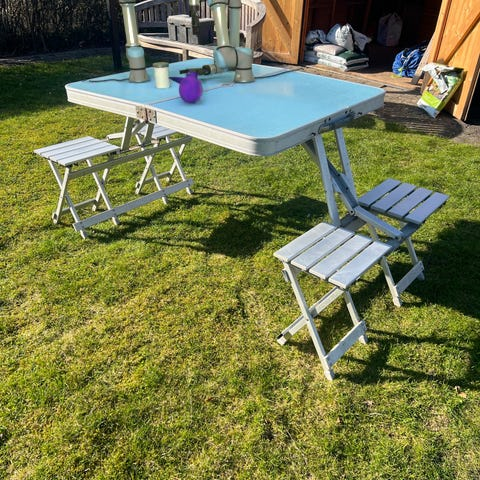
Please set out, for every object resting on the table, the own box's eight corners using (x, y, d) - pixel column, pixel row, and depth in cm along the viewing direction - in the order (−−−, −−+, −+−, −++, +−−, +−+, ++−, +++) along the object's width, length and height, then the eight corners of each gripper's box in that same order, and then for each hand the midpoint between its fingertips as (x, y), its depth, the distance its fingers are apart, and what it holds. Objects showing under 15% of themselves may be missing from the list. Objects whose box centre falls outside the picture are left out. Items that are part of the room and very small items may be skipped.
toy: (192, 94, 296) (203, 108, 275) (166, 89, 289) (175, 104, 268) (197, 69, 288) (208, 82, 267) (170, 64, 281) (180, 77, 260)
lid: (166, 64, 319) (165, 61, 318) (171, 66, 311) (170, 64, 310) (151, 66, 315) (150, 63, 314) (155, 68, 307) (155, 65, 306)
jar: (167, 84, 326) (165, 62, 318) (171, 87, 318) (169, 64, 310) (154, 86, 322) (151, 63, 314) (158, 88, 314) (155, 66, 307)
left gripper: (203, 5, 328) (204, 37, 339) (195, 4, 349) (197, 34, 360) (192, 6, 327) (194, 37, 337) (186, 4, 347) (188, 34, 358)
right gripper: (218, 77, 332) (194, 81, 321) (199, 72, 349) (176, 76, 338) (217, 66, 329) (193, 70, 317) (198, 62, 346) (175, 66, 334)
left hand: (196, 35), depth 349 cm, fingers open, 13 cm apart
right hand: (184, 73), depth 328 cm, fingers open, 13 cm apart
